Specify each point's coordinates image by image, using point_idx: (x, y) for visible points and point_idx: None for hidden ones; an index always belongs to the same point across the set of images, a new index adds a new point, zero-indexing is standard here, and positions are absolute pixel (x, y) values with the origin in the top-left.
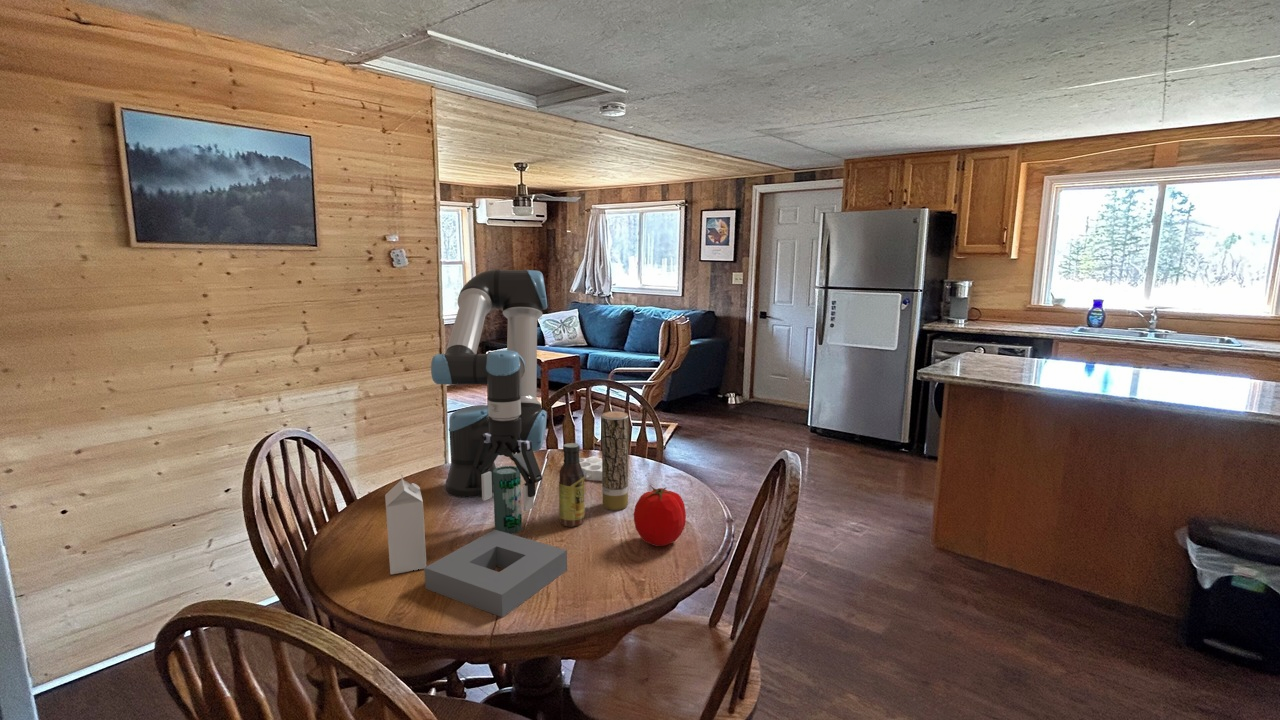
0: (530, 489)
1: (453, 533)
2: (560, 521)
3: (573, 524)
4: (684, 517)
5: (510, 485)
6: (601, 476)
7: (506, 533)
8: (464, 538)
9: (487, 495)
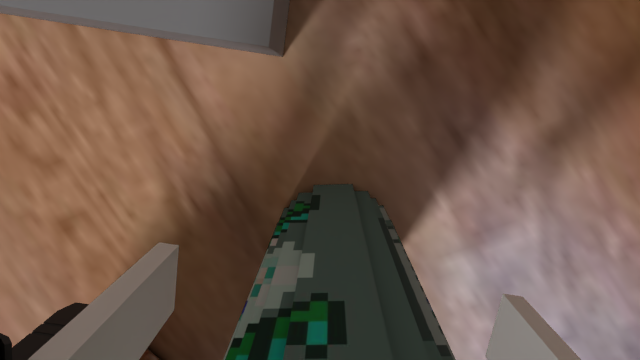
0: (31, 345)
1: (555, 116)
2: (150, 357)
3: None
4: None
5: (239, 347)
6: None
7: (172, 24)
8: (475, 90)
9: (507, 334)
